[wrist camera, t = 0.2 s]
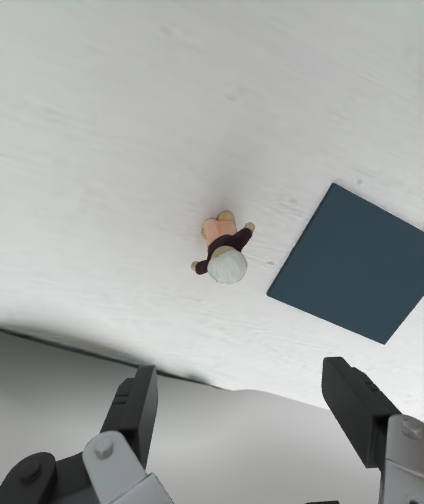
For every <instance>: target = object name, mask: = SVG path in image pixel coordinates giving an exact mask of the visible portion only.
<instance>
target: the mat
mask: <svg viewBox="0 0 424 504" xmlns="http://www.w3.org/2000/svg"><path fill="white" fill-rule="evenodd" d="M267 295H268V296H269V297H272V298H274V299H276V300H279V301H281V302H284V303H286V304H288V305H291V306H293V307H296V308H298V309H300V310H303V311H305V312H307V313H310V314H312V315H315V316H317V317H319V318H322V319H324V320H327V321H329V322H331V323H334V324H336V325H338V326H341V327H343V328H346V329H348V330H350V331H353V332H355V333H358V334H360V335H362V336H365V337H367V338H369V339H372V340H374V341H377V342H379V343H381V344H384V345H385V344H386V342H387V341H388V340H389V339H390V337H391V336H392V335H393V333H394V332H395V331H396V330H397V328H398V327H399V326H400V325H401V323H402V322H403V321H404V320H405V318H406V317H407V316H408V315H409V313H410V312H411V311H412V310H413V308H414V307H415V306H416V305H417V303H418V302H419V301H420V300H421V298H422V297H423V296H424V232H423V231H421V230H419V229H417V228H415V227H414V226H412V225H410V224H408V223H406V222H404V221H403V220H401V219H399V218H397V217H395V216H393V215H392V214H390V213H388V212H386V211H384V210H383V209H381V208H379V207H377V206H375V205H373V204H372V203H370V202H368V201H366V200H364V199H362V198H361V197H359V196H357V195H355V194H353V193H351V192H350V191H348V190H346V189H344V188H342V187H340V186H339V185H337V184H334V183H333V184H332V186H331V187H330V189H329V191H328V192H327V194H326V196H325V197H324V199H323V201H322V202H321V204H320V206H319V207H318V209H317V211H316V212H315V214H314V216H313V217H312V219H311V221H310V222H309V224H308V226H307V227H306V229H305V231H304V232H303V234H302V236H301V237H300V239H299V241H298V242H297V244H296V246H295V247H294V249H293V251H292V252H291V254H290V256H289V257H288V259H287V261H286V262H285V264H284V266H283V267H282V269H281V271H280V272H279V274H278V276H277V277H276V279H275V281H274V282H273V284H272V286H271V287H270V289H269V291H268V292H267Z"/></svg>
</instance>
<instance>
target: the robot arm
mask: <svg viewBox="0 0 424 504" xmlns="http://www.w3.org/2000/svg"><path fill="white" fill-rule="evenodd" d="M321 387H322V394H323V397H324V399H325V401H326V403H327V405H328V406H329V408H330V409H331V411H332V413H333V414H334V416H335V418H336V419H337V421H338V423H339V424H340V426H341V428H342V429H343V431H344V432H345V434H346V436H347V437H348V439H349V441H350V442H351V444H352V446H353V447H354V449H355V451H356V452H357V454H358V456H359V457H360V459H361V460H362V462H363V464H364V465H365V467H366V468H379V470H380V471H381V479H380V490H379V502H378V504H424V423H423V422H421V421H420V420H418V419H416V418H413V417H411V416H408V415H403V414H402V413H401V412H400V411H399V410H398V409H397V408H396V407H395V406H394V405H393V403H392V402H391V401H390V400H389V399H388V398H387V397H386V396H385V395H384V394H383V393H382V391H380V390H379V388H378V387H377V386H376V385H375V384H373V382H372V381H371V380H370V378H369V377H368V376H367V375H366V374H365V373H363V372H361V371H360V370H358V369H357V368H355V367H350V365H349V364H348V363H347V362H346V361H345V360H344V359H343V358H342V357H325V358H324V360H323V371H322V386H321ZM157 405H158V390H157V376H156V366H155V365H149V366H139V367H138V370H137V373H136V376H135V378H127V379H126V380H125V381H124V382H123V383H122V384H121V385H120V386H119V388H118V390H117V392H116V395H115V398H114V400H113V402H112V405H111V407H110V409H109V412H108V414H107V417H106V419H105V421H104V424H103V426H102V429H101V431H100V434H98V435H97V436H95V437H94V438H92V439H91V440H90V441H89V442H88V443H87V445H86V447H85V448H84V451H82V452H81V453H79V454H76V455H74V456H71V457H68V458H65V459H62V460H59V461H55V457H54V456H53V455H52V454H50V453H47V452H40V453H36V454H33V455H30V456H28V457H26V458H24V459H23V460H22V461H20V462H19V463H18V464H17V465H16V466H14V467H13V468H12V469H11V471H10V472H9V473H8V475H7V476H6V478H5V479H4V481H3V482H2V485H1V486H0V504H174V502H173V501H172V499H171V498H170V496H169V495H168V493H167V492H166V490H165V489H164V487H163V485H162V484H161V482H160V481H159V479H158V478H157V476H156V475H155V474H154V473H151V474H149V475H147V473H146V472H145V469H146V464H147V459H148V454H149V449H150V443H151V438H152V433H153V427H154V422H155V417H156V412H157ZM306 504H339V502H338V501H325V502H311V503H306Z"/></svg>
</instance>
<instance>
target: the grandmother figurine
mask: <svg viewBox="0 0 424 504" xmlns="http://www.w3.org/2000/svg"><path fill="white" fill-rule="evenodd" d="M254 229H255V225H254V224H253V223H252V222H248V223H246V225H245V227H244V228H243V229H241V230H240V231H238V232H237V230H236V224H235V220H234V216H233V214H232V213H231V212H230V211H224V212H222V213H220V214H219V216H218V221H217V220H215V219H208V220H206V221H205V222H204V223H203V229H202V232H201V233H202V236H203V237H204V238H205V239H206V241H207V249H208V250H207V252H208V257H207V260H204V261H201V262H196V261H195V262H193V263H192V264H191V268H192V270H194V271H196V273H197V274H199V275H201V274H204V273H207V272H208V273H209V275H210V276H211V277H212V278H213V279H214V280H216V282H220V283H223V284H233V283H236V282H238V281H240V280H241V279H242V278H243V276H244V274H245V272H246V270H247V267H248V265H247V261H246V259H245V257H244V255H243V254H242V253H241V250H242V248H243V247H244V246H245V245H246V244H247V242H248V241H249V239H250V238H251V237H252V233H253V231H254Z"/></svg>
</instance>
